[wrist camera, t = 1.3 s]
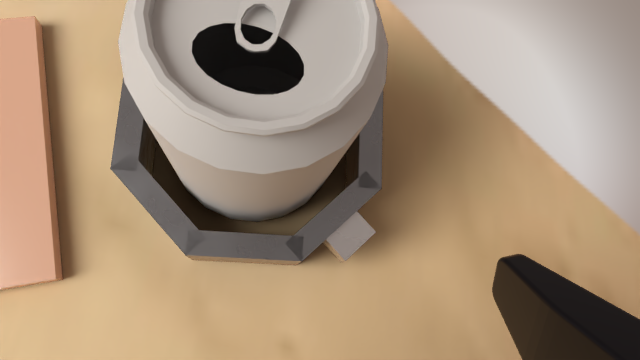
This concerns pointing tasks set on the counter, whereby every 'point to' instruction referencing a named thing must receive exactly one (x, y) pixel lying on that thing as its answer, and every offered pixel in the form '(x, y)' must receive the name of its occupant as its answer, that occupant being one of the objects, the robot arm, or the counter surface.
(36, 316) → the counter surface
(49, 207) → the coaster
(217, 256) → the collar
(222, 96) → the can
